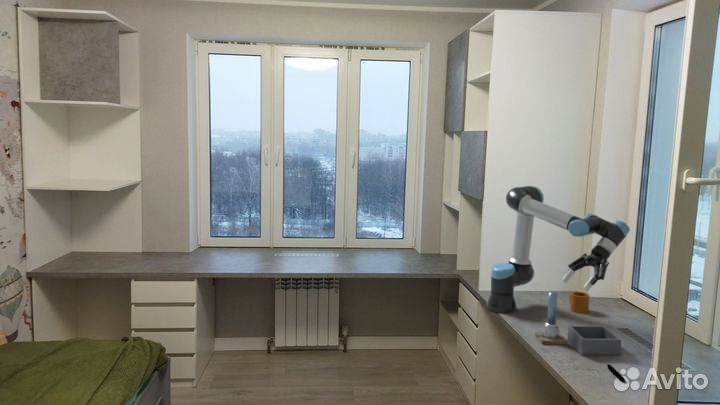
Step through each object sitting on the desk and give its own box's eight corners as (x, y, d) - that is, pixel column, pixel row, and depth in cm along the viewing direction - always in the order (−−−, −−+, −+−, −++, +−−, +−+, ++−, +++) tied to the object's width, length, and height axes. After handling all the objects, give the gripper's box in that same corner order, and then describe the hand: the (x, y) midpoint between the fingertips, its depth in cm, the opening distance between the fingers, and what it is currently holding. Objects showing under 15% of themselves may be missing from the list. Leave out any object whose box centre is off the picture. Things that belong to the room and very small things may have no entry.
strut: (542, 331, 236) (544, 291, 234) (555, 331, 236) (557, 291, 234) (546, 336, 231) (548, 294, 228) (559, 336, 231) (562, 295, 228)
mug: (580, 305, 281) (581, 289, 280) (591, 313, 269) (592, 296, 268) (564, 305, 280) (565, 289, 279) (574, 313, 269) (576, 296, 267)
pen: (609, 367, 206) (609, 363, 206) (626, 383, 193) (626, 379, 192) (605, 367, 206) (605, 363, 206) (621, 383, 193) (622, 379, 192)
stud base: (534, 334, 239) (535, 321, 239) (558, 335, 239) (559, 322, 238) (542, 344, 229) (542, 330, 228) (567, 344, 228) (568, 331, 227)
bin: (567, 340, 233) (568, 325, 232) (603, 341, 232) (604, 326, 231) (581, 355, 217) (582, 339, 216) (620, 356, 216) (621, 339, 215)
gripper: (629, 261, 226) (599, 298, 223) (587, 249, 249) (560, 283, 246) (620, 249, 224) (590, 287, 221) (579, 239, 247) (551, 273, 244)
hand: (574, 285), depth 234 cm, fingers open, 13 cm apart
